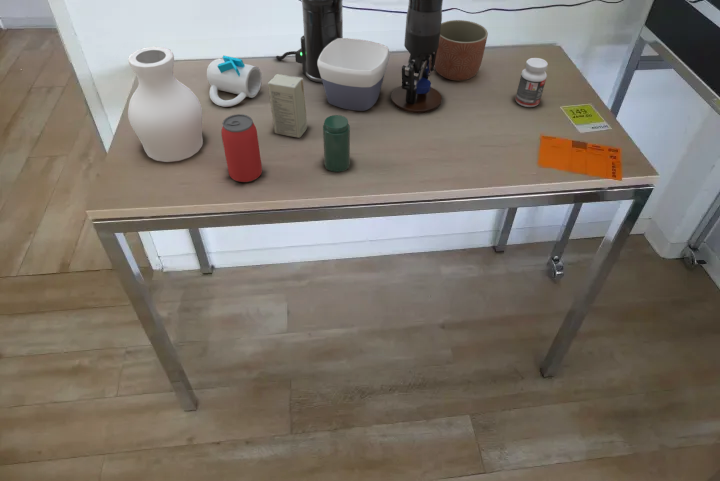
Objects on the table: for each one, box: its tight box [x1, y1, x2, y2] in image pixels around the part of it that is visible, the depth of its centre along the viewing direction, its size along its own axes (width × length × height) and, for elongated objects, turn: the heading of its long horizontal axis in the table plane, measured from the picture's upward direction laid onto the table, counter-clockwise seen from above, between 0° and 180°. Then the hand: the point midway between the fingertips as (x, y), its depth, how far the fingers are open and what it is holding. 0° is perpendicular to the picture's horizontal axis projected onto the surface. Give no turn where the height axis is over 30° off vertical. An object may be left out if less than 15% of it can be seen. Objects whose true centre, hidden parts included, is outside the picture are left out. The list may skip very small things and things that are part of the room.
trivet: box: [390, 85, 443, 114], centre depth 133 cm, size 12×12×1 cm
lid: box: [414, 77, 432, 94], centre depth 130 cm, size 6×6×2 cm
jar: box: [322, 114, 351, 173], centre depth 111 cm, size 5×5×10 cm
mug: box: [206, 55, 263, 108], centre depth 130 cm, size 12×9×12 cm
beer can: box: [221, 113, 263, 183], centre depth 108 cm, size 7×7×12 cm
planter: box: [434, 19, 489, 81], centre depth 139 cm, size 12×12×11 cm
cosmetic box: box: [267, 73, 308, 139], centre depth 119 cm, size 6×4×12 cm
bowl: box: [317, 37, 391, 112], centre depth 129 cm, size 15×15×11 cm
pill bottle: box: [515, 57, 548, 108], centre depth 130 cm, size 6×6×10 cm
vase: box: [127, 46, 204, 163], centre depth 112 cm, size 14×14×20 cm
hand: (416, 96), depth 132 cm, fingers closed on lid, 5 cm apart
